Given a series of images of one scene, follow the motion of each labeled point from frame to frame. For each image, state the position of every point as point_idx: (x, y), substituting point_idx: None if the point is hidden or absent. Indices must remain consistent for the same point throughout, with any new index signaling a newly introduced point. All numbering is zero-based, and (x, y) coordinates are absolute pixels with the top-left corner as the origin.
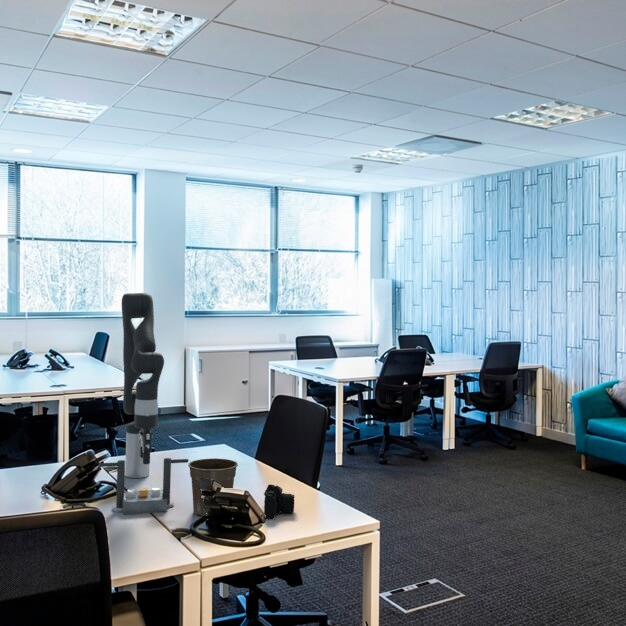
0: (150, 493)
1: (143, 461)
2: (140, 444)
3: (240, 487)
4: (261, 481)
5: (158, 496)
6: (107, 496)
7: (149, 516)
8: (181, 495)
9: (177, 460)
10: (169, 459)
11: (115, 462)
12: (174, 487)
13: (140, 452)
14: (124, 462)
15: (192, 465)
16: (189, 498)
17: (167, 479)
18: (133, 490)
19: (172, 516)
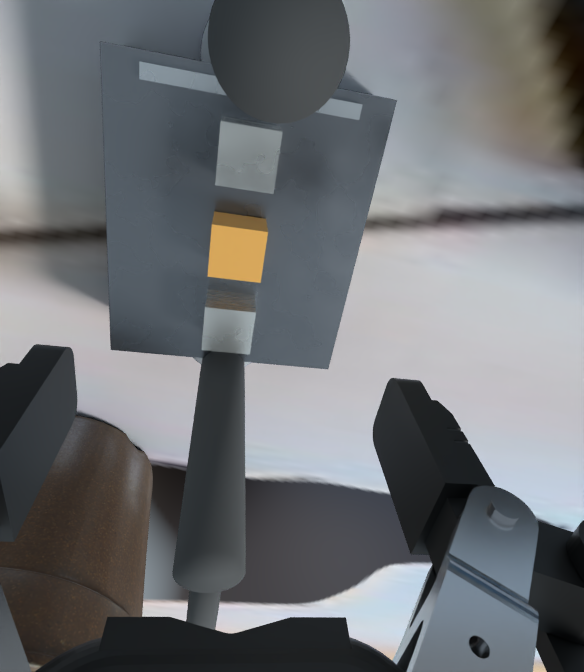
0: (272, 290)
1: (26, 363)
2: (457, 522)
3: (356, 596)
4: (387, 644)
5: (189, 318)
6: (580, 52)
7: (55, 207)
8: (364, 424)
9: (190, 607)
10: (176, 580)
11: None
12: (497, 425)
13: (415, 418)
14: (231, 98)
15: (61, 646)
16: (303, 441)
17: (192, 431)
18: (243, 175)
19: (34, 319)
